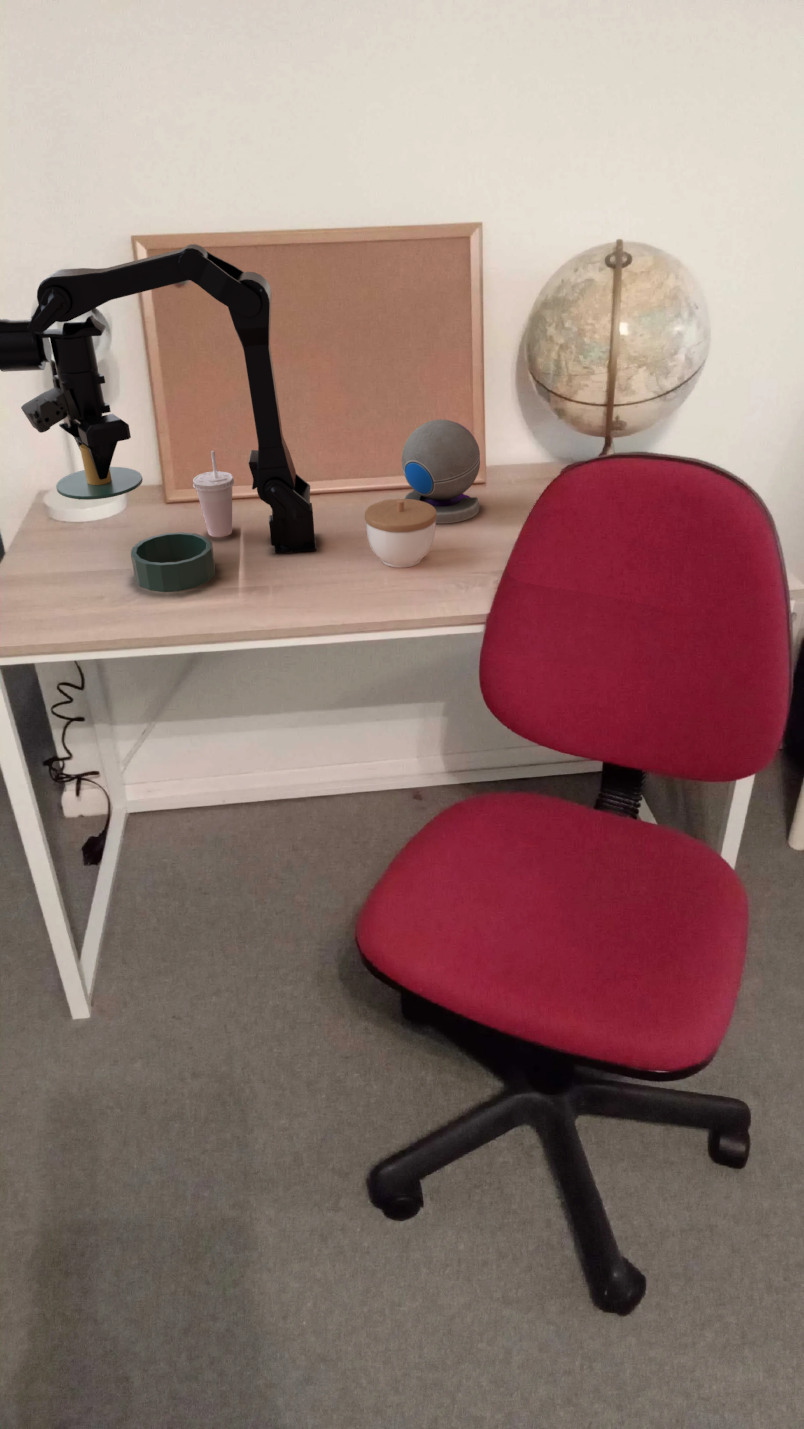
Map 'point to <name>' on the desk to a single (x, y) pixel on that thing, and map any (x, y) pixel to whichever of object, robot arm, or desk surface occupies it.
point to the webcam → (442, 469)
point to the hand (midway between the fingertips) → (98, 475)
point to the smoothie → (215, 499)
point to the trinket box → (400, 530)
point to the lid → (98, 481)
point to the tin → (173, 574)
